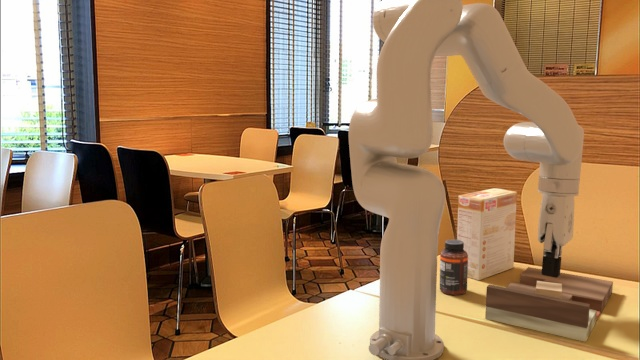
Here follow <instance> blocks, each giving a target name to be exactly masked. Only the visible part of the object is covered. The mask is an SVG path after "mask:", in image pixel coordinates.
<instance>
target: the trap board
mask: <svg viewBox="0 0 640 360" xmlns="http://www.w3.org/2000/svg"><path fill="white" fill-rule="evenodd" d="M537 281H542V282H550V283H559V284H562V296H561V298H556V297H551V296H546V295H540V294H536V284H537ZM613 284H614V281H613V280H606V279H602V278H595V277H588V276H582V275H577V274H572V273H564V272H560V275H559V276H558V277H557V278H555V277H550V276H544V275H542V268H536V267H530V266H528V267H527V268H526V269H524V271H523V272H521V274H520V275H519V282H513V281H512V282H510V283H509V284H508V285H507V286H506V287H505V286H499V285H495V284H494V285H493V284H488V285H487V286H486V292H485V293H486V294H485V298H486V299H485V300H486V301H485V314H484V315H485V317H484V320H490V321H493V322H498V323H502V324H507V325H512V326H515V327H519V328H525V329H529V330H532V331H537V332H541V333H546V334H551V335H555V336H559V337H563V338H566V339H567V338H568V339H571V340H576V341H580V342H585V343H586V342H587V340H588V338H589V337H590V334H591V333H592V331H593V329H594V327H595V325H596V322H597V319H598V318H599V316H600V314H601V313H602V312H603V311H604V309H605V306H606V304H608V303H607V302H608V301H609V299H610V297H611V295H612V294H611V293H613V286H614V285H613Z"/></svg>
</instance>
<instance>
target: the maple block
mask: <svg viewBox="0 0 640 360" xmlns="http://www.w3.org/2000/svg"><path fill="white" fill-rule="evenodd" d="M536 294H540V295H546V296H551V297H556V298H561V296H562V284H559V283H550V282H542V281H537V284H536Z"/></svg>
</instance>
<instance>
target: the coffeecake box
mask: <svg viewBox="0 0 640 360" xmlns="http://www.w3.org/2000/svg"><path fill="white" fill-rule="evenodd" d="M517 198H518V191H516V190H515V191H514V190H507V189H504V188H496V187H495V188H494V187H493V188H490V189H489V188H488V189H484V190H479V191H474V192H469V193H464V194H460V195H458V199H457V201H458V202H457V203H458V204H457V205H458V207H457V228H456V230H457V233H456V236H457V237H456V240H461V241H463V242H464V248H463V249H464V251H466V252H467V254H468V274H467V278H470V279H473V280H476V281H481V280H483V279H487V278H489V277H492V276H494V275H497V274H499V273H503V272H506V271H509V270H510V269H513V268H514V265H515V263H514V261H515V260H514V259H515V243H516V242H515V241H516V240H515V238H516V225H517V224H516V220H517V201H518V199H517Z"/></svg>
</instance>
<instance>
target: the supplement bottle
mask: <svg viewBox="0 0 640 360" xmlns="http://www.w3.org/2000/svg"><path fill="white" fill-rule="evenodd" d="M444 247H445V248H444V249H442V251H441V252H440V255H439V256H440V257H439V262H440V263H439V290H440V291H441V292H442V293H443V294H447V295H451V296H453V295H454V296H459V295H464V294H465V293H466V292H467V291H468V277H467V274H468V254H467V252H466V251H464V249H463V248H464V242H463V241H461V240H457V239H446V240H445V242H444Z"/></svg>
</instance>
